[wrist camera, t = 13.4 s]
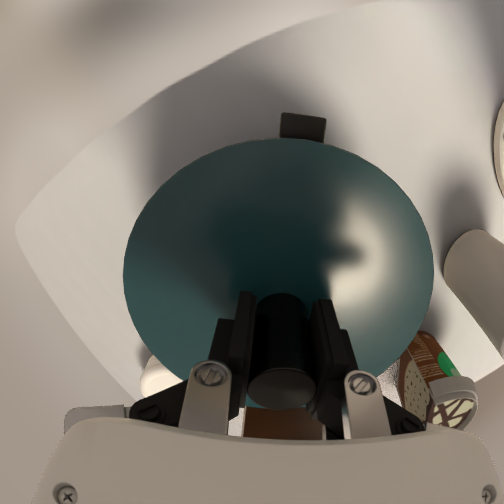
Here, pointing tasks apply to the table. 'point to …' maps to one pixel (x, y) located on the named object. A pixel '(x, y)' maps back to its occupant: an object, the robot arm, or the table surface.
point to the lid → (278, 261)
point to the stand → (280, 424)
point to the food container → (434, 385)
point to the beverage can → (479, 281)
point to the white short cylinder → (156, 378)
